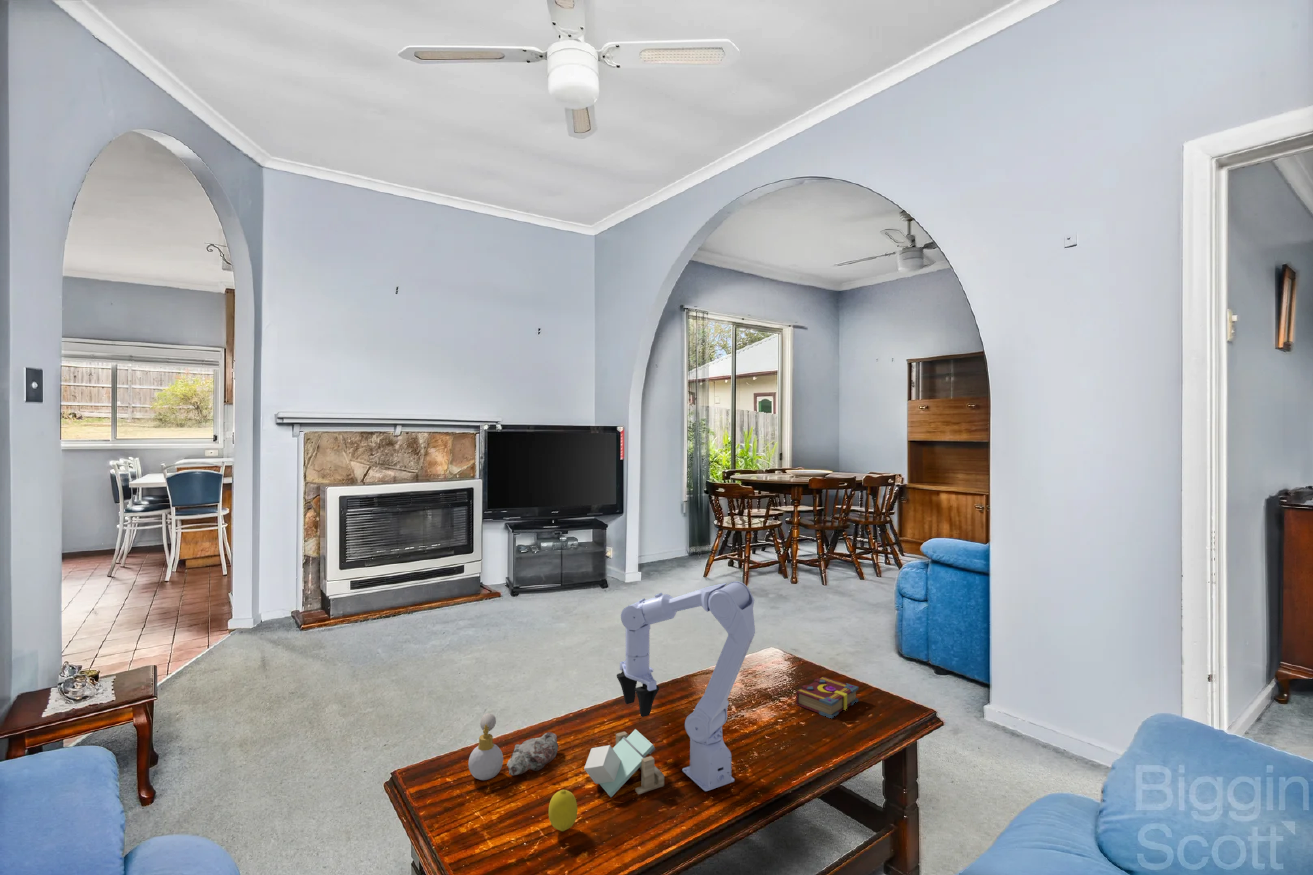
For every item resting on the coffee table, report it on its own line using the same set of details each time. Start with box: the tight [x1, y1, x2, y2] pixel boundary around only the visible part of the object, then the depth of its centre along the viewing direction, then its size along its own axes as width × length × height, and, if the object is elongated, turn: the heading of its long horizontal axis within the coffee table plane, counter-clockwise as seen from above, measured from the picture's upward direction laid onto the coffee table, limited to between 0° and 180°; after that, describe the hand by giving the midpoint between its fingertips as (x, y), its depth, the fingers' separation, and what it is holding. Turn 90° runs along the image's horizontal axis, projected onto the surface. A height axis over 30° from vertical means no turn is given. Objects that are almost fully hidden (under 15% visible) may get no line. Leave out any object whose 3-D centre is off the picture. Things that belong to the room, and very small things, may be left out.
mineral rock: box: [506, 731, 559, 776], centre depth 144 cm, size 15×8×4 cm, turn 133°
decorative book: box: [795, 676, 859, 720], centre depth 176 cm, size 11×16×5 cm
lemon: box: [548, 789, 578, 832], centre depth 120 cm, size 6×6×8 cm
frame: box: [615, 731, 665, 795], centre depth 140 cm, size 14×6×7 cm, turn 30°
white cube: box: [583, 744, 621, 785], centre depth 136 cm, size 5×5×5 cm
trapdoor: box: [598, 728, 656, 798], centre depth 138 cm, size 11×14×2 cm
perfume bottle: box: [468, 712, 504, 781], centre depth 140 cm, size 8×10×12 cm
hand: (637, 709), depth 149 cm, fingers open, 7 cm apart
